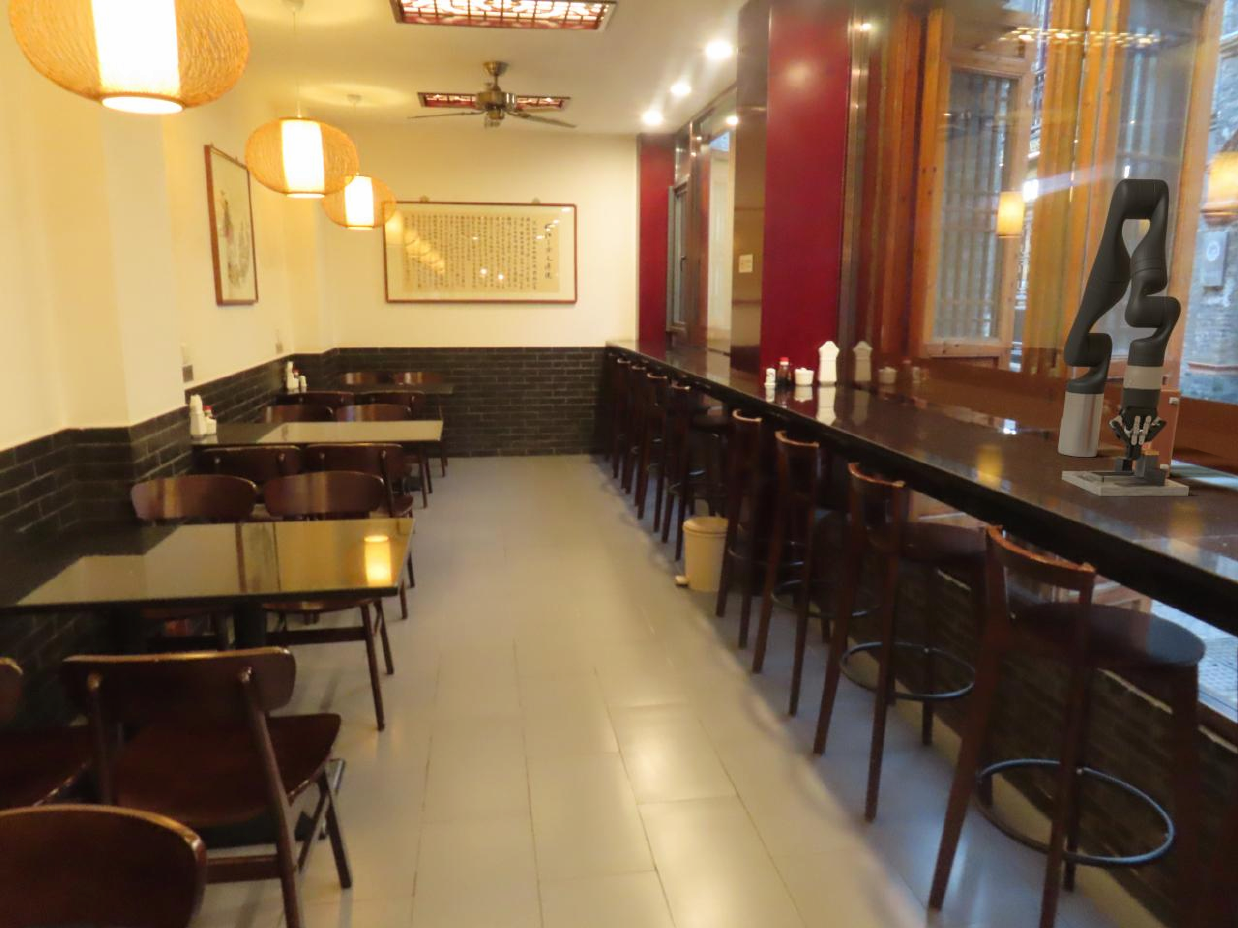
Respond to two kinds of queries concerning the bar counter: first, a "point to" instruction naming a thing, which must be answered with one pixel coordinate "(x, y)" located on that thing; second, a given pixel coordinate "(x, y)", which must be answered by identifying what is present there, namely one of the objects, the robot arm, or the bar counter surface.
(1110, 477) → the breaker board
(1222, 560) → the bar counter surface
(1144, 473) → the block
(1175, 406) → the orange rectangular box
